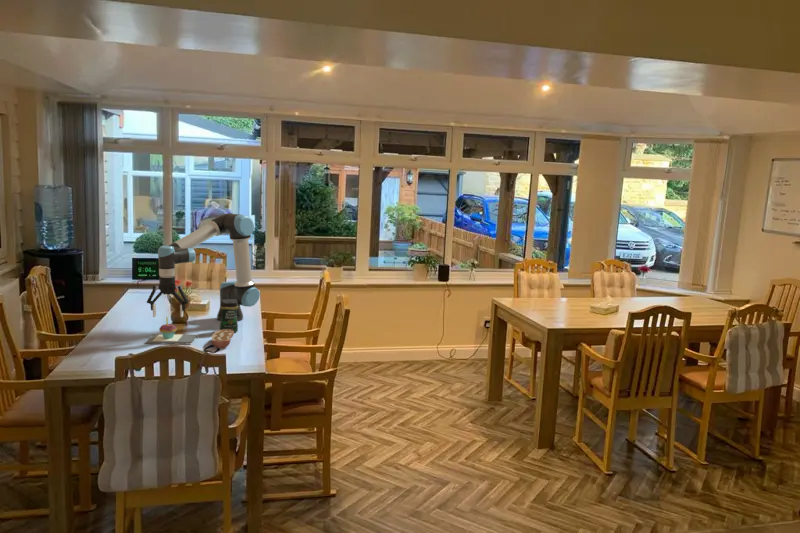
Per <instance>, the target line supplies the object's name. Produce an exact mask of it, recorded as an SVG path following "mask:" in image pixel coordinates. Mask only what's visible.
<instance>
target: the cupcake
mask: <svg viewBox="0 0 800 533" xmlns="http://www.w3.org/2000/svg"><path fill="white" fill-rule="evenodd" d="M168 320H169V318H168V316H166V320H165V321H166V323H165V324H161V326H160V327H159V330H158V331H159V332H160V333H161V334H162V335H163V338H165V339H170V338H173V336H174V334H176V331H177V330H178V329H177V326H176V325H175V324H172V323H169V321H168Z"/></svg>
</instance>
